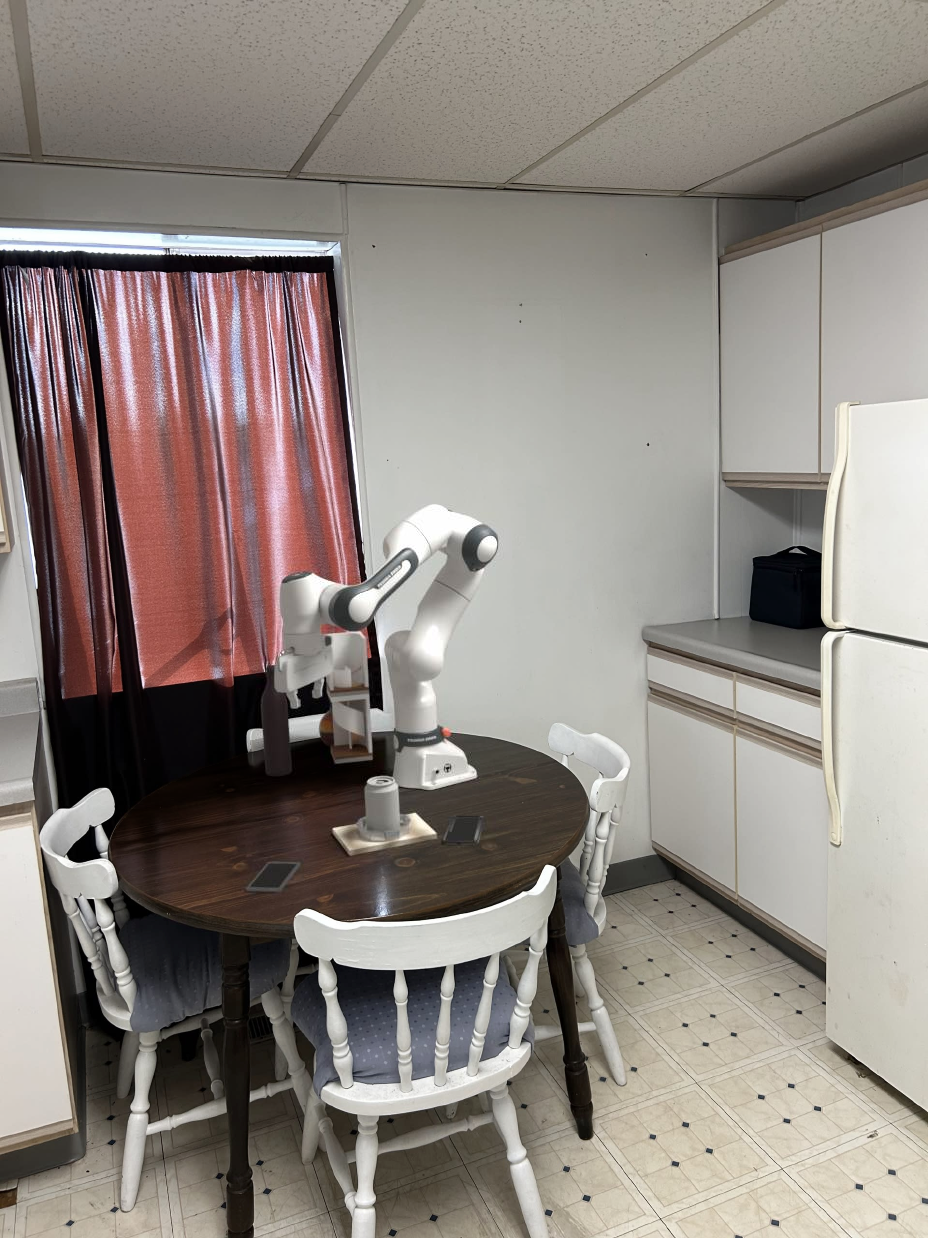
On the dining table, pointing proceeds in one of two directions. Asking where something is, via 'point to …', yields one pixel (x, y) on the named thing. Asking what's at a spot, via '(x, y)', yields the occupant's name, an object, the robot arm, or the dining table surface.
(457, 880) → the dining table surface
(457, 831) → the phone
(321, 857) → the dining table surface
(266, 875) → the cell phone
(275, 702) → the wine bottle
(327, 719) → the vase
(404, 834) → the ring collar
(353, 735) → the display case
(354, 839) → the seat board
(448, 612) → the robot arm
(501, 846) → the dining table surface
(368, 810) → the can
